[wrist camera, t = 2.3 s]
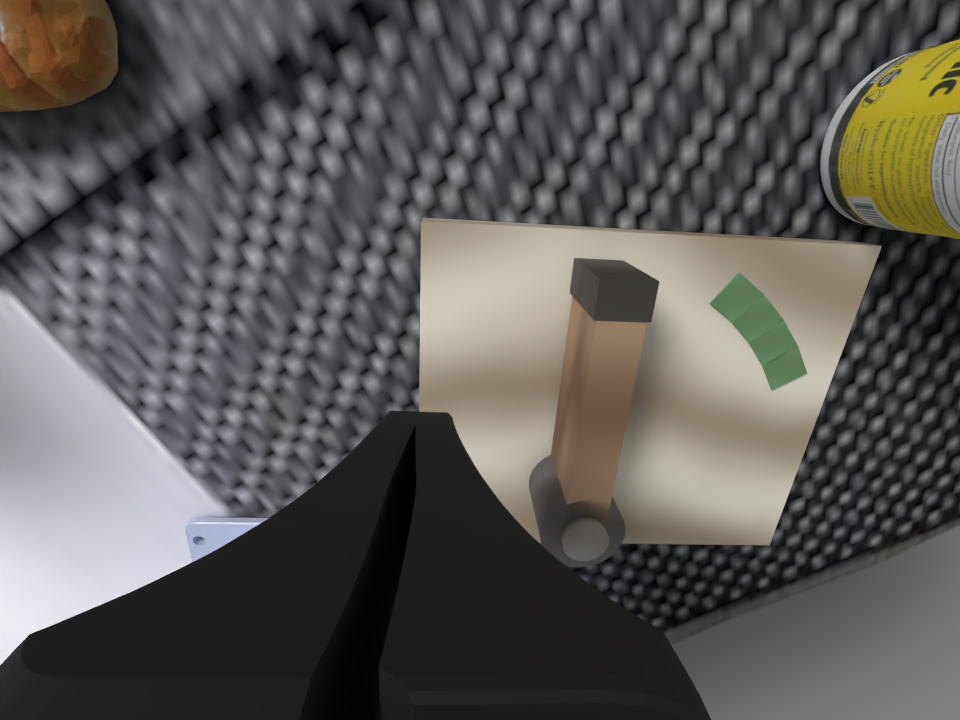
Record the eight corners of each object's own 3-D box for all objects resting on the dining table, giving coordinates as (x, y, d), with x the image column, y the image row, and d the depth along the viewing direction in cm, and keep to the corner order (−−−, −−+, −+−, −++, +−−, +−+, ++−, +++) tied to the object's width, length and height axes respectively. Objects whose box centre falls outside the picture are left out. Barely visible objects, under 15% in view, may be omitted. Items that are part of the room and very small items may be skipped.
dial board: (756, 529, 23) (770, 546, 22) (419, 525, 22) (417, 543, 21) (859, 241, 17) (884, 246, 16) (423, 217, 16) (421, 221, 15)
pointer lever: (595, 511, 20) (621, 576, 17) (525, 509, 20) (538, 576, 17) (641, 261, 16) (688, 285, 13) (555, 256, 16) (579, 280, 13)
